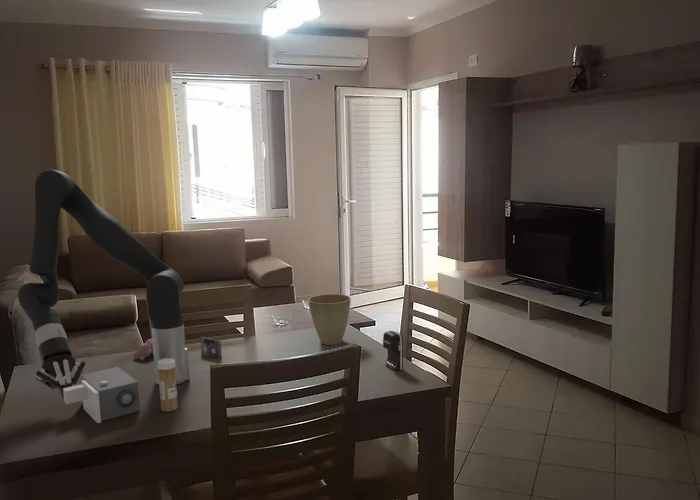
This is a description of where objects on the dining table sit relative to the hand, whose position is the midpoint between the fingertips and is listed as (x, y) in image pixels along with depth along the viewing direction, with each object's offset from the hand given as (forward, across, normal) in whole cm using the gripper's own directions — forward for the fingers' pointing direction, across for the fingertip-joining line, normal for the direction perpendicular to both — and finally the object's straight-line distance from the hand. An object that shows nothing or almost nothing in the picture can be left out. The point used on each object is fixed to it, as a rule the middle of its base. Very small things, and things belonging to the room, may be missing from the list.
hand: (69, 398), depth 166 cm
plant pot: (-1, +89, +7) cm, 90 cm away
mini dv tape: (-11, +50, +18) cm, 55 cm away
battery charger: (+24, +88, -18) cm, 92 cm away
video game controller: (-22, +34, +28) cm, 50 cm away
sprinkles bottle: (+13, +22, -6) cm, 26 cm away
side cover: (+6, +2, 0) cm, 7 cm away
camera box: (+4, +10, +2) cm, 11 cm away
